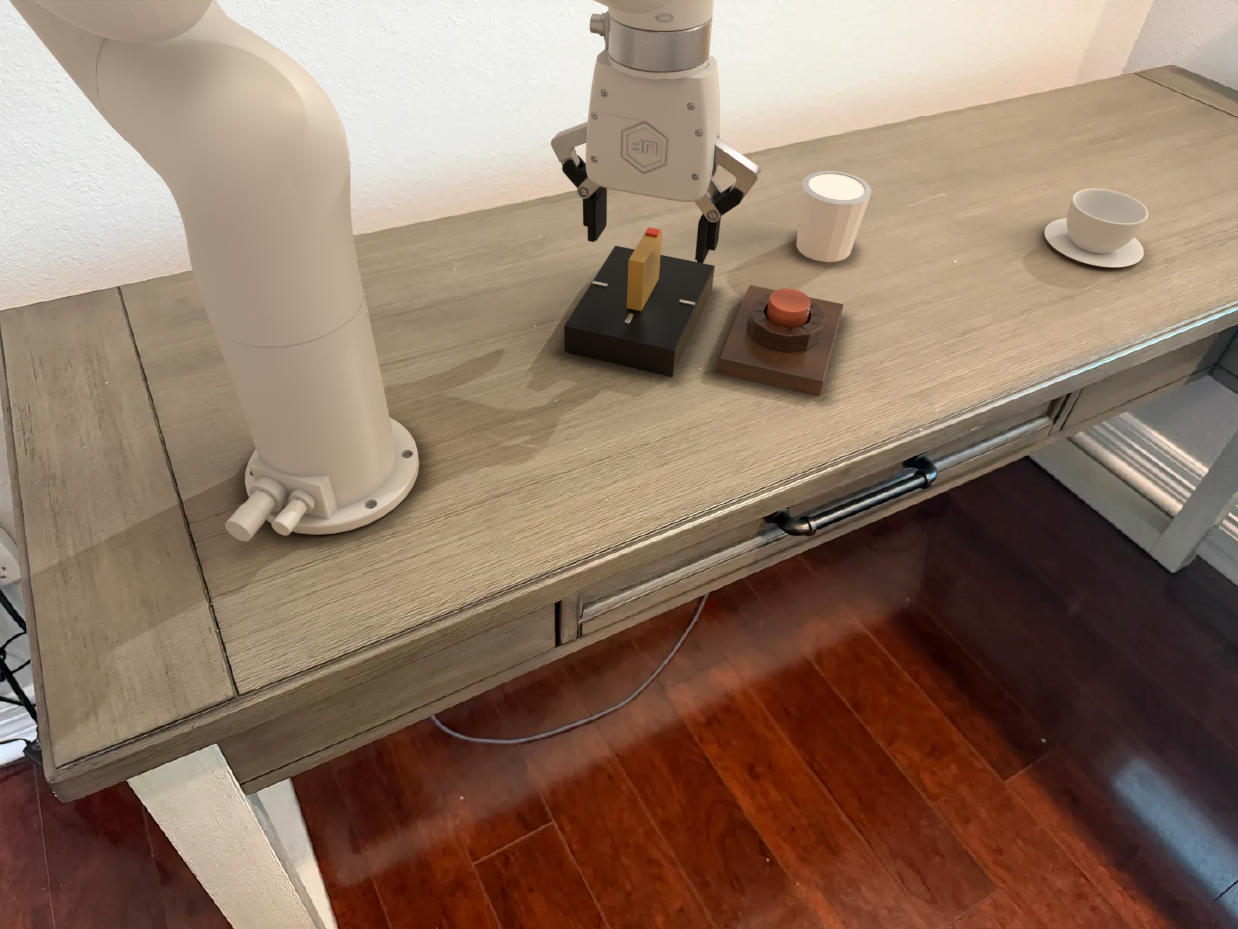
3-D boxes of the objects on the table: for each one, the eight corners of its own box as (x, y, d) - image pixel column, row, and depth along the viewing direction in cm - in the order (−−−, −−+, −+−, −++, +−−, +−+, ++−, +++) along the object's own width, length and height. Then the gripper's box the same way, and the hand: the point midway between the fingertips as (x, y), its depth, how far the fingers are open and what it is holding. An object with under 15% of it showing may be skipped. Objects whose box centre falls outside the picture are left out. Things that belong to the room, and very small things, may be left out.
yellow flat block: (641, 311, 79) (644, 260, 75) (626, 308, 79) (628, 256, 75) (658, 279, 82) (662, 228, 79) (644, 276, 83) (647, 225, 79)
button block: (819, 396, 76) (827, 364, 73) (717, 373, 78) (721, 341, 75) (840, 318, 84) (848, 287, 82) (747, 299, 86) (751, 267, 83)
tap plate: (672, 378, 77) (675, 348, 75) (564, 353, 79) (563, 324, 77) (711, 292, 87) (715, 263, 84) (614, 271, 89) (615, 243, 86)
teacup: (1130, 282, 90) (1151, 241, 87) (1031, 250, 94) (1048, 210, 91) (1150, 240, 96) (1170, 200, 93) (1056, 212, 100) (1073, 172, 97)
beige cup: (780, 254, 92) (792, 191, 87) (803, 224, 96) (815, 163, 91) (845, 273, 90) (860, 209, 85) (864, 242, 94) (880, 180, 89)
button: (803, 332, 77) (807, 315, 76) (762, 323, 78) (765, 306, 77) (810, 309, 80) (814, 292, 78) (770, 301, 80) (773, 284, 79)
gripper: (530, 41, 65) (541, 248, 77) (764, 76, 61) (736, 286, 73) (566, 7, 70) (571, 206, 82) (785, 37, 66) (756, 240, 78)
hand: (649, 244), depth 77 cm, fingers open, 9 cm apart
